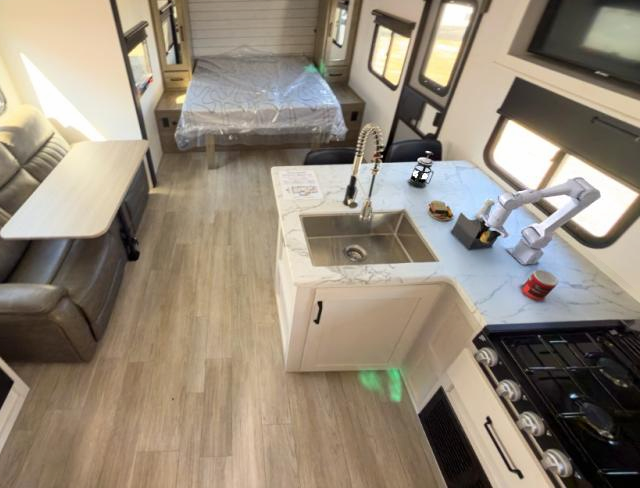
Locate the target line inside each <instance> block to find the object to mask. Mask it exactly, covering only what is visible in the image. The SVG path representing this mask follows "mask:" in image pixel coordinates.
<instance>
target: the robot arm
mask: <svg viewBox="0 0 640 488" xmlns="http://www.w3.org/2000/svg"><path fill="white" fill-rule="evenodd" d="M558 196H567V197H569V198H570V200H569V201H568V202H567V203H565V204H564V205H562V206H561V207H560V208H559V209H557V210H555V212H553V213H552V214H550V215H549V216H548V217H546V218H545V219H544V220H543V221H541V222H540V223H535V222H533V223H531V224H530V225H527V226H525V227H523V228H522V229H521V230H520V234H521V236H520V237H521V238H520V239H519V241H518V242H517V244H516V245H515V246H514V248H509V249H507V252H508V253H509V254H511V256H512V257H513V258H515V259H516V260H517V261H518V262H519V263H520V264H522V265H523V266H524V265H533V264H538V261H539V260H540V259H542V256H543V255H544V251H543V250H542V249H544V248H546V247H547V246H548V245H549V244H550V242H551V241H553V232H556V230H558V229H559V228H561V227H562V226H563V225H565V224H567V222H569V221H570V220H572V219H573V218H574V217H576V216H577V215H578V214H580V213H581V212H583V211H584V210H585V209H587V208H588V207H590V206H591V205H592V204H593V203H595V202H596V201H597V200H599V199H600V198H601V191H600V190H599V189H598V188H596V187H595V186H593V185H592V184H590V183H589V182H588V181H587V180H586V179H585V178H583V177H581V176H576V177H573V178H568V179H566V180H565V181H564V182H562V183H559V184H555V185H552V186H549V187H545V188H542V189H539V190H538V189H535V188H529V189H526V190H521V191H517V192H509V191H508V192H507V191H506V192H503V193H501V194H500V195H498V196H497V202H496V205H495V207H494V209H493V211H492V213H491V214H490V215H489V216H488V215H486V214H485V213H484V214H481V215H480V216H479V217H480V218H483V219H484V221H481V222H480V225H481V230H480V235H482V234H483V232H485V231H488V229H490V228H491V229H493V230H491V231H490V235H489V237H488V239H487V242H492V241H493V240H494V239H495V238H497V239H498V237H501V238H502V239H506V238H508V237H509V236H510V234H509V232H507V230H506V229H505V227H504V225H505V222H506V221H507V220H508V218H509V216H510V215H511V214H512V212H513V211H515V210H518V209H519V208H521V207H523V206H525V205H530V204H533V203H538V202H540V200H541V199H546V198H553V197H558Z"/></svg>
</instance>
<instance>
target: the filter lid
mask: <svg viewBox="0 0 640 488" xmlns="http://www.w3.org/2000/svg"><path fill="white" fill-rule="evenodd" d="M470 220H471V219H469V218H468V217H467V216H465V214H464V213H463V212H460V214H459V215H458V217H457V219H456V222H457V223H458V224H459V225H460V226H461V227H462V228H463V229H464V230H465V231H466V232H467V233H468V234H470V235H471V236H472V237H473V238H474V239H475V238H476V236H477V234H478V233H479V231H480V230H479V229H478V228H477V227H476V226H475V225H474V224H473V223H472V222H471V221H470ZM456 222H455V223H456Z"/></svg>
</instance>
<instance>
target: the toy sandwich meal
mask: <svg viewBox="0 0 640 488" xmlns="http://www.w3.org/2000/svg"><path fill="white" fill-rule="evenodd" d="M427 209H428V213H429V214H430V216H431V217H432V218H434V219H436V220H438V221H442V222H446V221H451V220H453V218H454V213H453V212H452V210H451V208H450V206H449V205H446V203H445V202H444V201H441V200H432V201H431V202H430V203H428V208H427Z"/></svg>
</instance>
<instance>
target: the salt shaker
mask: <svg viewBox="0 0 640 488" xmlns="http://www.w3.org/2000/svg"><path fill="white" fill-rule="evenodd" d="M495 203H496V202H495V200H494V199H491V198H486V199H485V200H484V204H483V205H482V206H481V207H480V208H479V209H478V210H477V211H476V212H475V220H476V219H479V220H480V221H484V219H483V218H480V217H479V216H480V215H481V214H484V213H485V214H486V215H488V216H489V217H490V213H491V209H492V207H494V206H495Z"/></svg>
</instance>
